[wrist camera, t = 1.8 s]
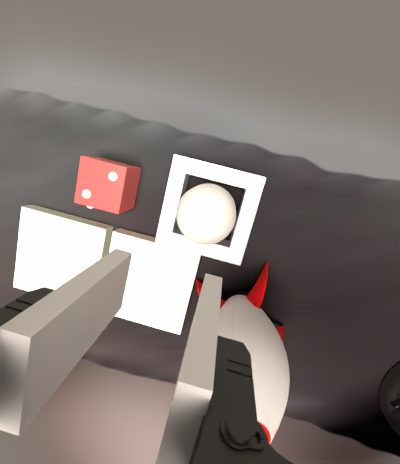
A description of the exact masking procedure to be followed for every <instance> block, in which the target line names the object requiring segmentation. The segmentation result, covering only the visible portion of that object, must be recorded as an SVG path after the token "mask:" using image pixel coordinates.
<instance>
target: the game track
mask: <svg viewBox="0 0 400 464" xmlns="http://www.w3.org/2000/svg"><path fill="white" fill-rule="evenodd" d="M112 230H113V226H111V225H107V224H103V223H99V222H96V221H92V220H88V219H85V218H81V217H77V216H74V215H70V214H66V213H63V212H59V211H55V210H51V209H48V208H44V207H40V206H37V205H27V206H22V207H21V217H20V226H19V236H18V246H17V256H16V265H15V275H14V285H13V287H15V288H19V289H22V290H26V291H33V290H36V289H40V288H43V287H46V288H50V289H53V290H55V289H57V288H58V287H60V286H61V285H63V284H64V283H66V282H67V281H69V280H70V279H72V278H73V277H75V276H76V275H78V274H79V273H81V272H82V271H84V270H85V269H86V268H88V267H89V266H91V265H92V264H94V263H95V262H97V261H98V260H100V259H101V258H103V257H104V256H106V255H107V254H108V253H110V252H112V251H113V250H115V249H119V250H123V251H126V252H130V253H132V257H131V262H130V267H129V272H128V277H127V282H126V287H125V292H124V297H123V302H122V307H121V309H120V310H119V311H118V313H117V314H116V315H115V316H116V317H120V318H123V319H127V320H130V321H134V322H137V323H140V324H144V325H147V326H151V327H154V328H158V329H161V330H165V331H168V332H172V333H175V334H179V335H180V333H181V330H182V327H183V323H184V319H185V315H186V311H187V308H188V304H189V300H190V296H191V292H192V288H193V285H194V281H195V277H196V273H197V269H198V265H199V262H200V258H201V255H199V254H196V253H192V252H188V251H185V250H181V249H177V248H174V247H170V246H166V245H162V244H159V243H155V239H156V238H155V237H151V236H147V235H144V234H140V233H136V232H133V231H129V230H125V229H122V228H118V229H116V230H115V231H113V234H112ZM111 236H112V239H111ZM110 242H111V245H110ZM109 247H110V250H109Z"/></svg>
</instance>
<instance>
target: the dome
mask: <svg viewBox="0 0 400 464" xmlns="http://www.w3.org/2000/svg"><path fill="white" fill-rule="evenodd" d="M176 219H177V224H178V226H179V228H180V230H181V232H182V233H183V234H184V235H185V236H186V237H187V238H188V239H189V240H191V241H193V242H195V243H198V244H203V245H210V244H214V243H217V242H219V241H221V240H223V239H224V238H226V237H227V236H228V235H229V234H230V232H231V231H232V229H233V227H234V224H235V221H236V206H235V202H234V199H233V197H232V196H231V194H230V193H229V192H228V191H227V190H226V189H225V188H223V187H222V186H220V185H217V184H213V183H204V184H200V185H198V186H195V187H193V188H191V189H190V190H188V191H187V192H186V193H185V194H184V195H183V196H182V197H181V199H180V201H179V203H178V206H177V210H176Z"/></svg>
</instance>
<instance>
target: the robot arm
mask: <svg viewBox="0 0 400 464" xmlns="http://www.w3.org/2000/svg"><path fill="white" fill-rule="evenodd" d="M131 257H132V253H130V252H126V251H123V250H119V249H115V250H113V251H112V252H110V253H109V254H107V255H106V256H104V257H103V258H101V259H100V260H98V261H97V262H95V263H94V264H92V265H91V266H89V267H88V268H86V269H85V270H84V271H82V272H81V273H79V274H78V275H76V276H75V277H73V278H72V279H70V280H69V281H67V282H66V283H64V284H63V285H61V286H60V287H58V288H57V289H55V290H53V289H50V288H46V287H43V288H40V289H36V290H33V291H29V292H27V293H25V294H24V295H22V296H20V297H19V298H17V299H16V301H12V302H10V303H9V304H7V305H6V306H5V307H2V308H0V430H2V431H5V432H8V433H12V434H15V435H18V436H19V435H20V434H21V432H22V431H23V430H24V428H25V427H26V426H27V425H28V423H29V422H30V421H31V420H32V418H33V417H34V416H35V415H36V414H37V412H38V411H39V410H40V409H41V407H42V406H43V405H44V403H45V402H46V401H47V400H48V399H49V397H50V396H51V395H52V394H53V392H54V391H55V390H56V389H57V387H58V386H59V385H60V384H61V382H62V381H63V380H64V379H65V377H66V376H67V375H68V374H69V372H70V371H71V370H72V368H73V367H74V366H75V365H76V364H77V362H78V361H79V360H80V359H81V358H82V356H83V355H84V354H85V353H86V351H87V350H88V349H89V348H90V346H91V345H92V344H93V343H94V341H95V340H96V339H97V338H98V336H99V335H100V334H101V333H102V331H103V330H104V329H105V328H106V326H107V325H108V324H109V323H110V321H111V320H112V319H113V318H114V316H115V315H116V314H117V313H118V311H119V310H120V309H121V307H122V302H123V297H124V292H125V287H126V282H127V277H128V272H129V267H130V262H131ZM221 290H222V278H221V277H217V276H214V275H210V274H205V277H204V281H203V285H202V288H201V292H200V296H199V300H198V303H197V307H196V311H195V315H194V318H193V322H192V326H191V329H190V333H189V337H188V341H187V345H186V349H185V353H184V357H183V360H182V364H181V368H180V372H179V376H178V380H177V384H176V387H175V391H174V395H173V399H172V403H171V407H170V411H169V415H168V418H167V422H166V426H165V430H164V434H163V438H162V441H161V446H160V449H159V453H158V457H157V461H156V464H293V463H291V462H290V461H288V460H286V459H285V458H284V457H282V456H281V455H280V454H278V453H277V452H276V451H275V450H274V449H273V448H272V447H271V446H270V445H269V442H268V436H267V434H266V433H265V431H264V429H263V427H262V425H261V424H260V423H259V422H258V421H257V413H256V403H255V393H254V383H253V379H252V377H253V374H252V368H251V367H252V364H251V354H250V353H249V351H248V349H247V348H246V346H245V345H244V343H243V342H239V341H236V340H232V339H229V338H225V337H222V336H218V325H219V314H220V302H221ZM379 404H380V408H381V410H382V413H383V415H384V416H385V418H386V419H387V421H388V423H389V424H390V426H391V427H392V429H393V430H394V431H395V432H396V433H397V434H398V435H399V436H400V363H398V364H397V365H396V366H394V367H393V368H392V369H391V370H390V371H389V372H388V374H387V375H386V376H385V378H384V380H383V382H382V384H381V387H380V390H379Z"/></svg>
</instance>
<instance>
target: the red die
mask: <svg viewBox="0 0 400 464" xmlns="http://www.w3.org/2000/svg"><path fill="white" fill-rule="evenodd" d="M141 169H142V168H140V167H136V166H132V165H128V164H125V163H121V162H117V161H113V160H109V159H105V158H100V157H90V156H81V159H80V166H79V173H78V180H77V187H76V193H75V200H74V202H75V203H79V204H82V205H86V206H87V207H88V208H97V209H101V210H105V211H109V212H112V213H116V214H120V213H123V212H125V211H128V210H130V209H133V208H134V205H135V200H136V195H137V190H138V184H139V179H140V174H141Z"/></svg>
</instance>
